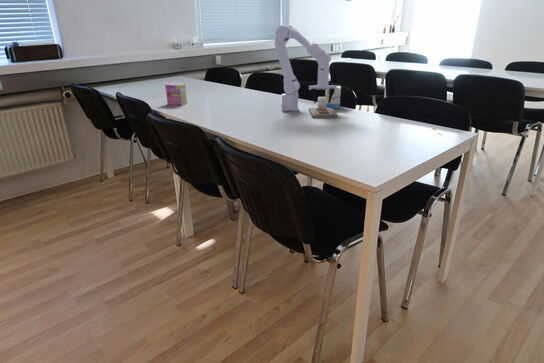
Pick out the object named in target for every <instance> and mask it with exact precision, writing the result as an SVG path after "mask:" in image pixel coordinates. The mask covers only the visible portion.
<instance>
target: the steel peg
mask: <svg viewBox="0 0 544 363" xmlns="http://www.w3.org/2000/svg"><path fill="white" fill-rule="evenodd" d="M317 108H318V110H317V111H326V97H325V96H317Z"/></svg>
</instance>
